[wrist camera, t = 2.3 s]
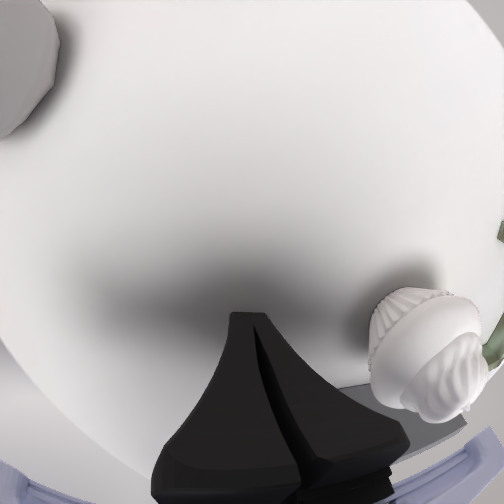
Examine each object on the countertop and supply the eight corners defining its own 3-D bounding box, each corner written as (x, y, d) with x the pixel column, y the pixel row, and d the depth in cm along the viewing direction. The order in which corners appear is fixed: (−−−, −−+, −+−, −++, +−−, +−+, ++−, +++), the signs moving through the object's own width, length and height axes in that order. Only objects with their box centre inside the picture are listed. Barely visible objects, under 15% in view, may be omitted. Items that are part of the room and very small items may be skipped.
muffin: (402, 237, 11) (516, 332, 5) (451, 289, 13) (525, 363, 7) (319, 338, 13) (373, 463, 6) (385, 364, 15) (434, 451, 8)
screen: (415, 390, 17) (446, 443, 12) (275, 416, 15) (294, 496, 10) (438, 356, 16) (479, 411, 10) (289, 380, 14) (317, 476, 8)
